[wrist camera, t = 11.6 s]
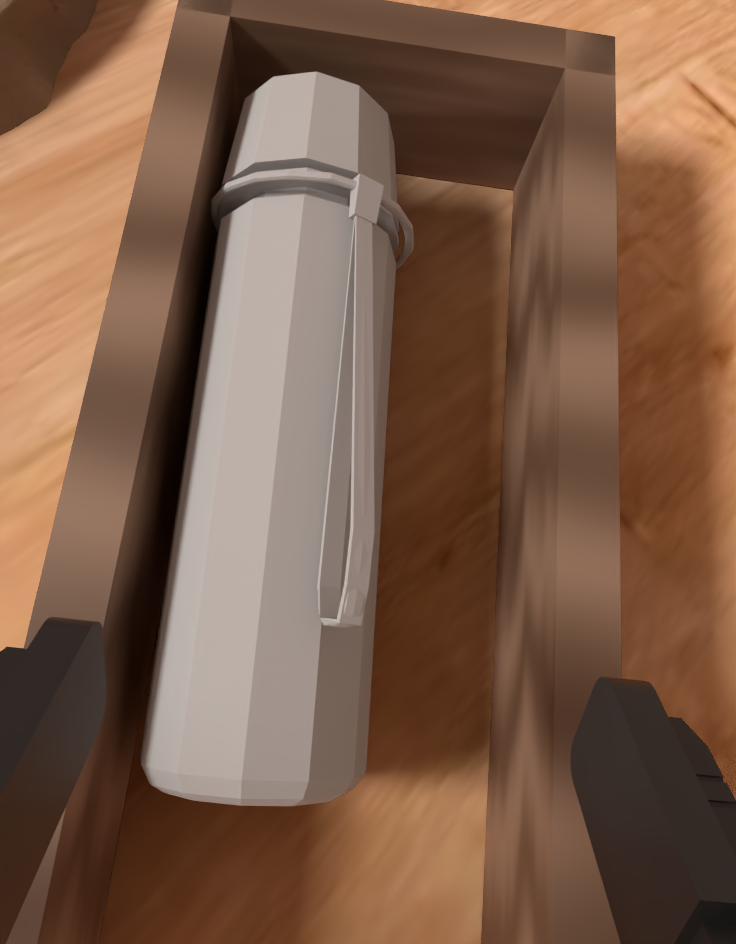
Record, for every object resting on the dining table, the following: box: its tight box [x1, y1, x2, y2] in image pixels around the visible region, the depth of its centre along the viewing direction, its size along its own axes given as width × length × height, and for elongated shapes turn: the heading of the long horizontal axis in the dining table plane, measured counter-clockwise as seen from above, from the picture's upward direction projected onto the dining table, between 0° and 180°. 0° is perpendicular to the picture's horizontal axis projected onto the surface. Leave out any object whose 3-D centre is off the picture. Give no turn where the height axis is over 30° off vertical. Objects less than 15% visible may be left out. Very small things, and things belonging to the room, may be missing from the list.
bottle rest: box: [6, 0, 622, 944], centre depth 25 cm, size 36×17×7 cm, turn 174°
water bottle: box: [140, 71, 414, 806], centre depth 25 cm, size 9×8×25 cm
